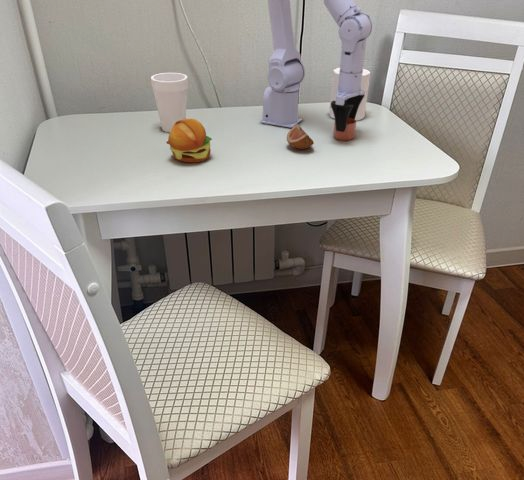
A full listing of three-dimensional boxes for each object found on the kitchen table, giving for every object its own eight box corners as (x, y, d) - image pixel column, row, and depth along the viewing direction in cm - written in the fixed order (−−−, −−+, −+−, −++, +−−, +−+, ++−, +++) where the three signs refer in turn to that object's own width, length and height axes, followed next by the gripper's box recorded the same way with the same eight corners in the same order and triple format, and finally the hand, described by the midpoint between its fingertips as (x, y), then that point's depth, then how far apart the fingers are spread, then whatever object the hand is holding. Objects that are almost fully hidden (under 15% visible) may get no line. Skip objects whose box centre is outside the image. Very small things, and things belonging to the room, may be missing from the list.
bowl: (330, 139, 146) (332, 122, 143) (337, 132, 149) (338, 116, 147) (350, 142, 144) (352, 125, 141) (356, 136, 148) (358, 119, 145)
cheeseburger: (219, 151, 137) (215, 113, 129) (203, 176, 131) (197, 139, 123) (183, 145, 139) (176, 108, 131) (165, 169, 134) (157, 132, 126)
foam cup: (197, 127, 151) (194, 76, 142) (176, 136, 145) (172, 84, 136) (171, 120, 155) (166, 70, 146) (149, 129, 149) (143, 78, 140)
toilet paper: (322, 116, 160) (326, 71, 152) (341, 108, 166) (345, 64, 158) (352, 123, 155) (358, 77, 147) (370, 115, 162) (376, 70, 154)
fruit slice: (317, 153, 137) (319, 133, 134) (292, 155, 136) (293, 135, 133) (307, 141, 144) (308, 122, 140) (282, 143, 142) (283, 124, 139)
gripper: (357, 79, 130) (351, 137, 138) (374, 66, 140) (367, 121, 149) (329, 75, 132) (325, 133, 141) (348, 63, 142) (342, 117, 151)
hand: (345, 126), depth 145 cm, fingers open, 7 cm apart
